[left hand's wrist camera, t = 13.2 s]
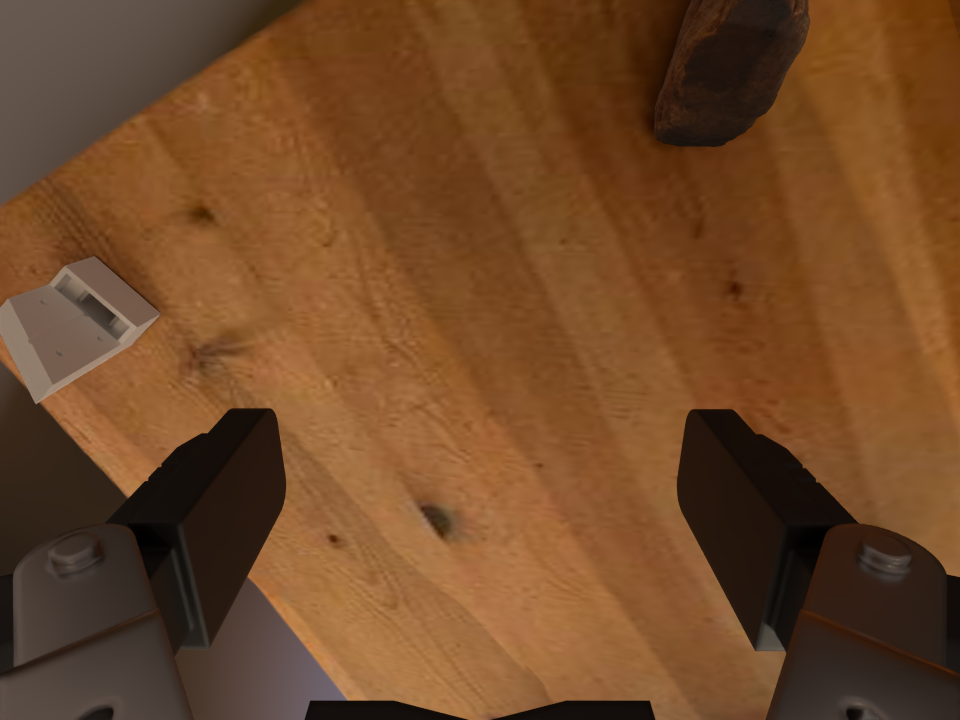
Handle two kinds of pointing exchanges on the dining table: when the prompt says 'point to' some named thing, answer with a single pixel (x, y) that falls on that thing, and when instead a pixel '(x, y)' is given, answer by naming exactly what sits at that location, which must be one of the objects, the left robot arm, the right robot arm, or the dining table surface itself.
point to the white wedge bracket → (72, 325)
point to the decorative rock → (727, 68)
